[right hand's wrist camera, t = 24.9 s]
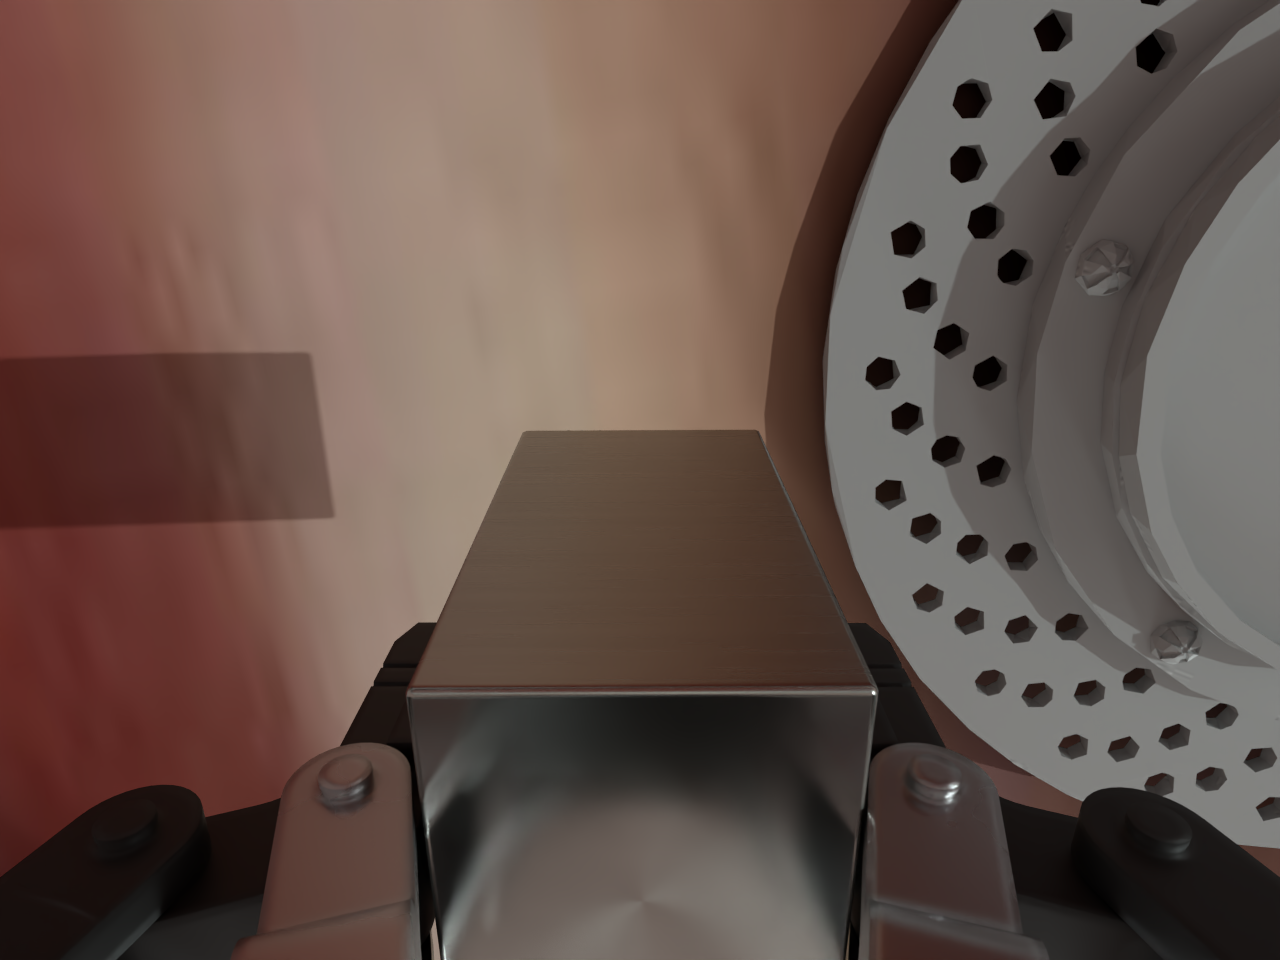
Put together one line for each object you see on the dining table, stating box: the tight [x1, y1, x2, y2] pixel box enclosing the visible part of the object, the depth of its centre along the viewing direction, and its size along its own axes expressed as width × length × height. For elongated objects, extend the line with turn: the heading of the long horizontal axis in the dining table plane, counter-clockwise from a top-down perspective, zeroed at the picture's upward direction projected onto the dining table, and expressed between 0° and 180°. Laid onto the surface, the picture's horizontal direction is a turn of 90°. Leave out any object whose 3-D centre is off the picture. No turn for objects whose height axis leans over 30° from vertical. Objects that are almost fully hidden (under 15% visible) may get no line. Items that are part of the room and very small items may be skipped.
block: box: [405, 430, 878, 960], centre depth 11 cm, size 4×5×8 cm
